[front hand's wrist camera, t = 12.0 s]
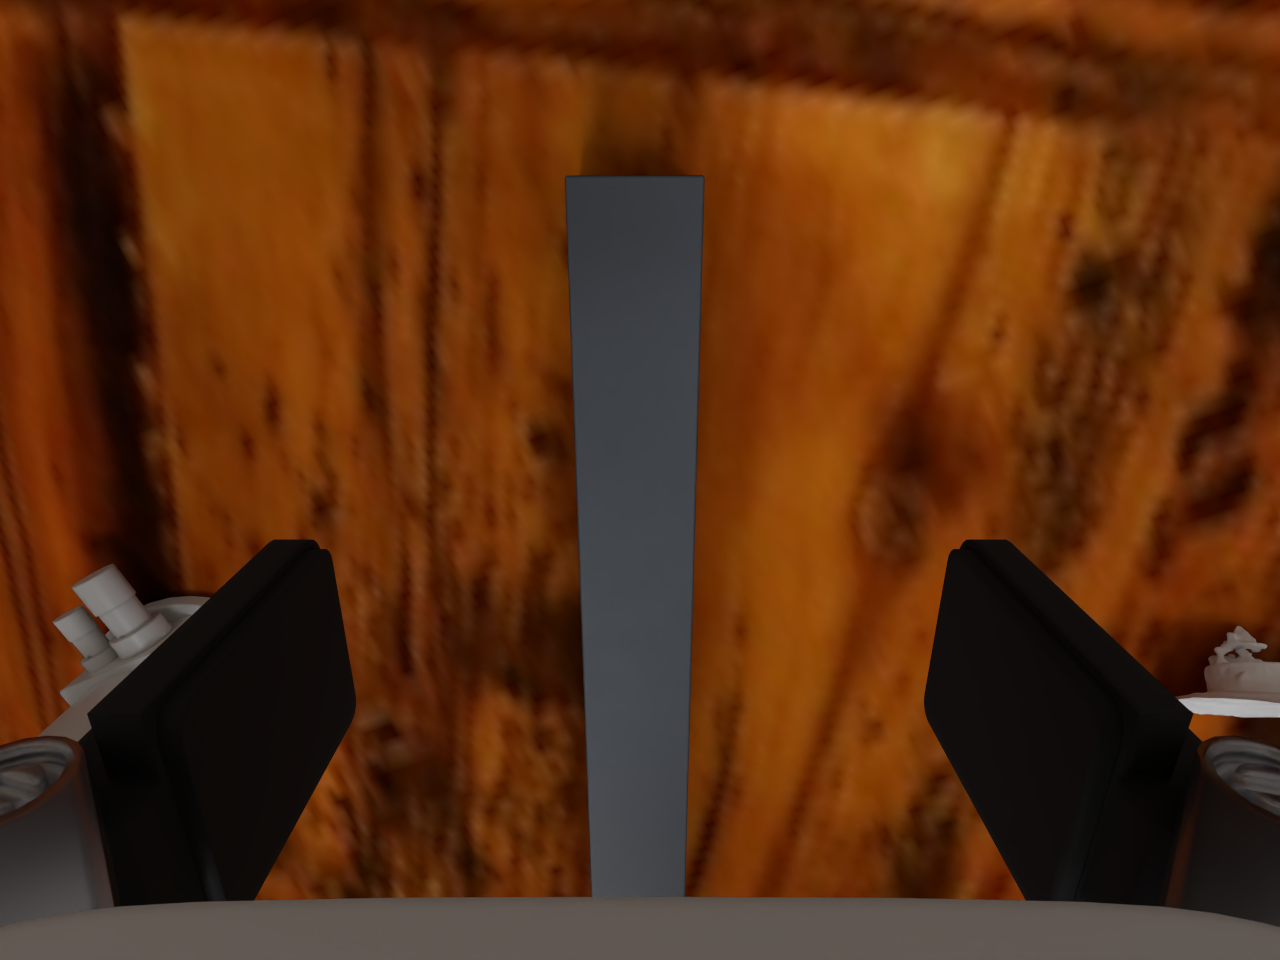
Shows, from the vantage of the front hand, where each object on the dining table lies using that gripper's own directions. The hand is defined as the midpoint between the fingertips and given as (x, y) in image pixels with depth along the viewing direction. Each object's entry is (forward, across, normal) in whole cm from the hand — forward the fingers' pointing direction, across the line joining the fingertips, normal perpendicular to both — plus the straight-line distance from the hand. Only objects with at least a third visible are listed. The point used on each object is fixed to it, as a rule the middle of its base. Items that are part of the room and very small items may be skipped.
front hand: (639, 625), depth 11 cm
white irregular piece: (+24, +32, -18) cm, 44 cm away
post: (+24, 0, -27) cm, 36 cm away
